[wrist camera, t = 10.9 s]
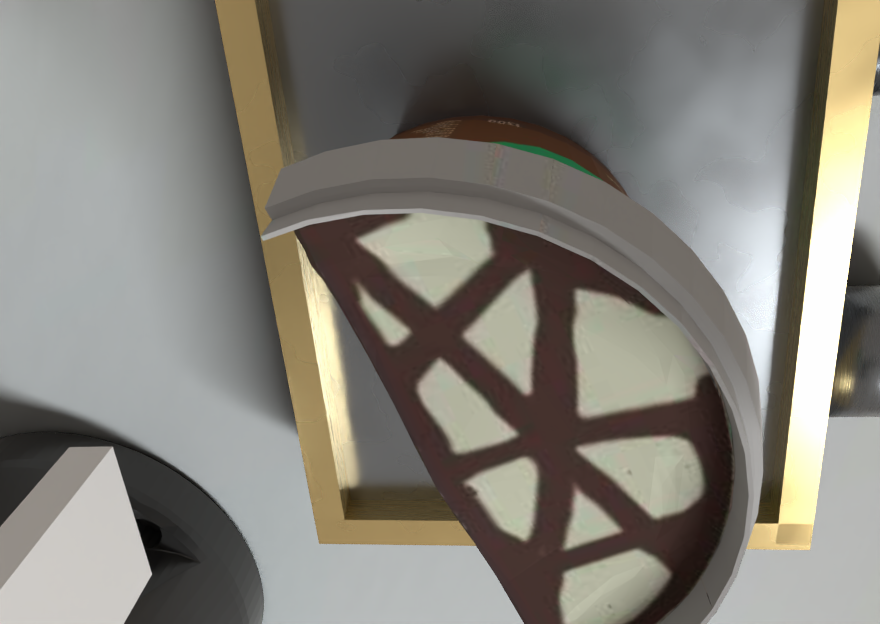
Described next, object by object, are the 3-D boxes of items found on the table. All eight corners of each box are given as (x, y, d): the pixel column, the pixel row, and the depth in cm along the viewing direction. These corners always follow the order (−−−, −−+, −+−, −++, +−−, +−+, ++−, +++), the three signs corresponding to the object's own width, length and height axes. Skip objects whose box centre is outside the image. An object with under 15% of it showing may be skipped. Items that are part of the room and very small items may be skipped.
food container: (753, 382, 24) (877, 665, 15) (556, 447, 26) (561, 736, 17) (592, -30, 20) (631, 19, 11) (369, 82, 21) (241, 206, 12)
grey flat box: (344, 460, 32) (311, 550, 27) (248, -121, 23) (177, -129, 19) (866, 459, 29) (925, 559, 25) (975, -199, 20) (1095, -230, 16)
